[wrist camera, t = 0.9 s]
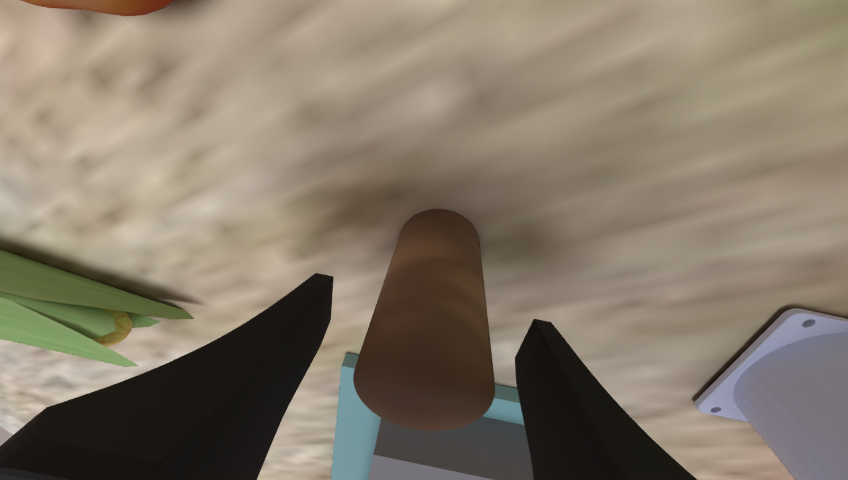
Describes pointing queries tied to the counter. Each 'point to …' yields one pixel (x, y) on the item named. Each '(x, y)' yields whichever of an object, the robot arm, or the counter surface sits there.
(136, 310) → the edible corn
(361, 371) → the peg
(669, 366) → the counter surface
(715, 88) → the counter surface
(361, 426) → the socket board
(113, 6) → the fruit
